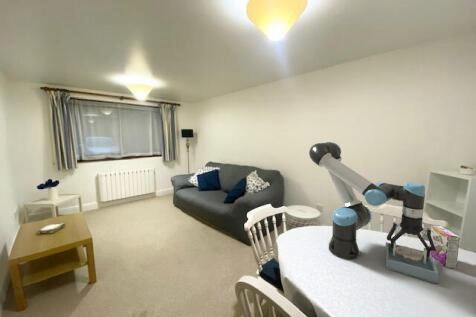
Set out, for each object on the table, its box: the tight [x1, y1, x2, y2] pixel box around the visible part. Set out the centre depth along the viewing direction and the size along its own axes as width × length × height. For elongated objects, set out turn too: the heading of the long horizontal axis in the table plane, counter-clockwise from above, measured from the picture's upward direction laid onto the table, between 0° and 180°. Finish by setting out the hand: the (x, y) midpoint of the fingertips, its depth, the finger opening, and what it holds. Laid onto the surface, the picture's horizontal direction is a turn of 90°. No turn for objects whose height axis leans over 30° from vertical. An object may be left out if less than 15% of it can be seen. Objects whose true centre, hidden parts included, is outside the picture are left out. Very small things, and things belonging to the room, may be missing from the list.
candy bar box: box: [428, 224, 461, 269], centre depth 99 cm, size 11×5×16 cm, turn 168°
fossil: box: [395, 245, 424, 261], centre depth 98 cm, size 9×6×10 cm
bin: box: [384, 242, 440, 285], centre depth 98 cm, size 18×18×5 cm
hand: (408, 257), depth 97 cm, fingers closed on fossil, 11 cm apart
